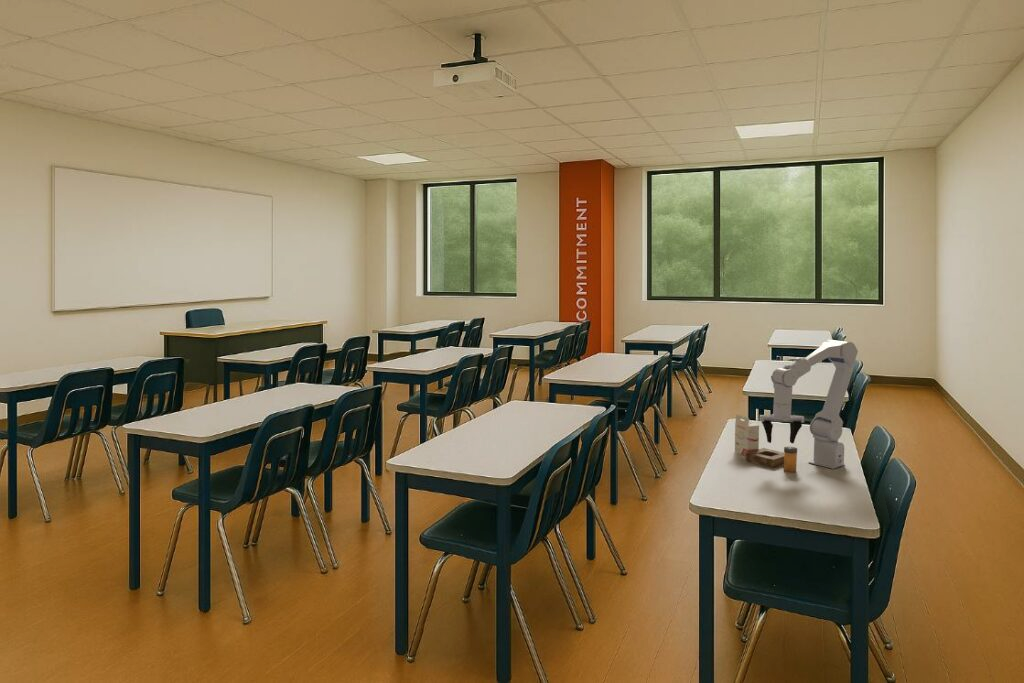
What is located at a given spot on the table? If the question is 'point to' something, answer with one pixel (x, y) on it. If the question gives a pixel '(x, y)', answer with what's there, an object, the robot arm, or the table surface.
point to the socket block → (766, 457)
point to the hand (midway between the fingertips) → (780, 442)
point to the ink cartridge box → (746, 436)
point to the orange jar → (790, 459)
